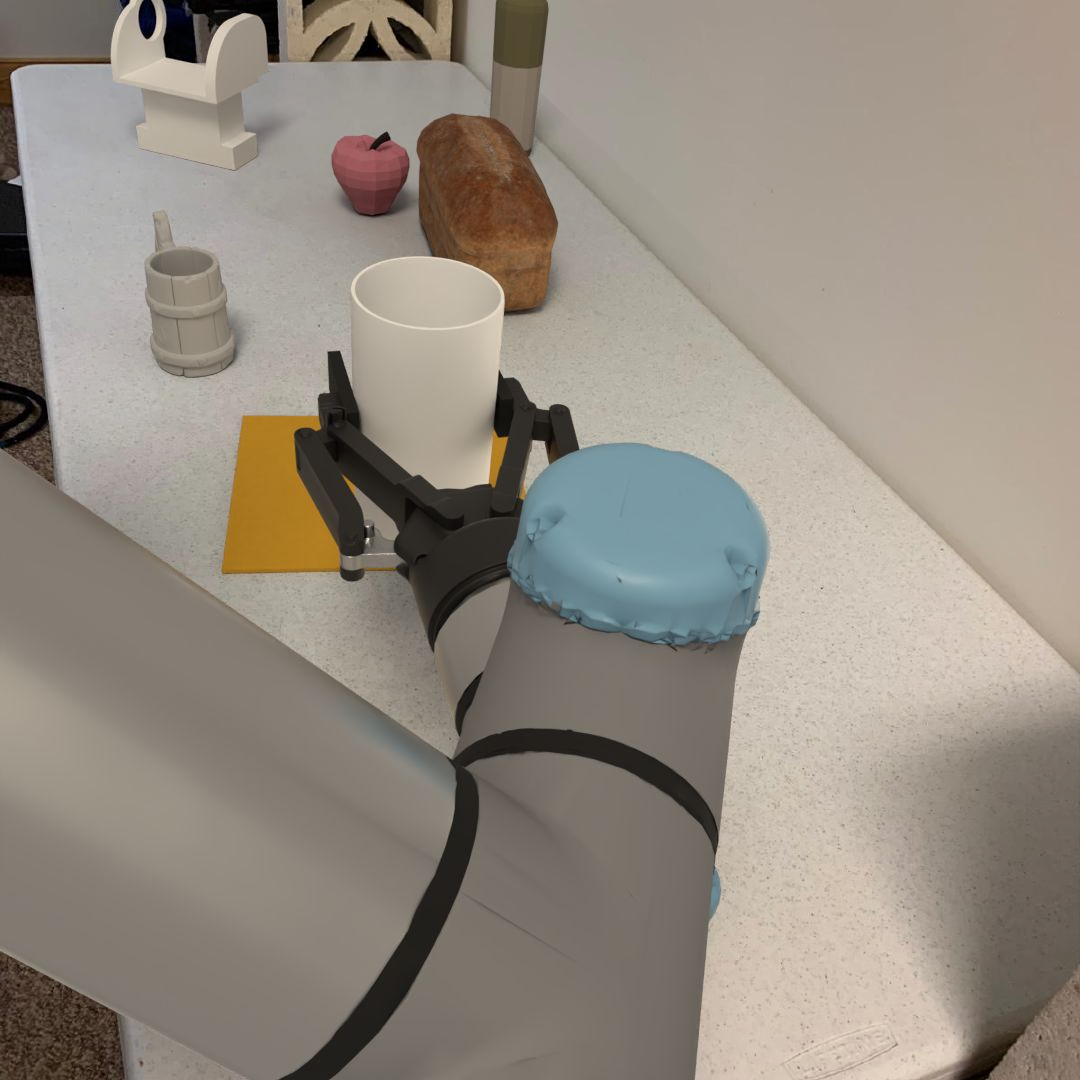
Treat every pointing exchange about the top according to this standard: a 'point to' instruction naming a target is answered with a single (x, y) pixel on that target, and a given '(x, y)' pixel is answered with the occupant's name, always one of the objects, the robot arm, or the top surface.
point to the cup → (426, 369)
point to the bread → (486, 205)
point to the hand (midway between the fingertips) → (407, 365)
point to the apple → (370, 171)
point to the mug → (186, 307)
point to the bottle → (518, 65)
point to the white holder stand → (192, 88)
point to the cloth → (285, 502)
